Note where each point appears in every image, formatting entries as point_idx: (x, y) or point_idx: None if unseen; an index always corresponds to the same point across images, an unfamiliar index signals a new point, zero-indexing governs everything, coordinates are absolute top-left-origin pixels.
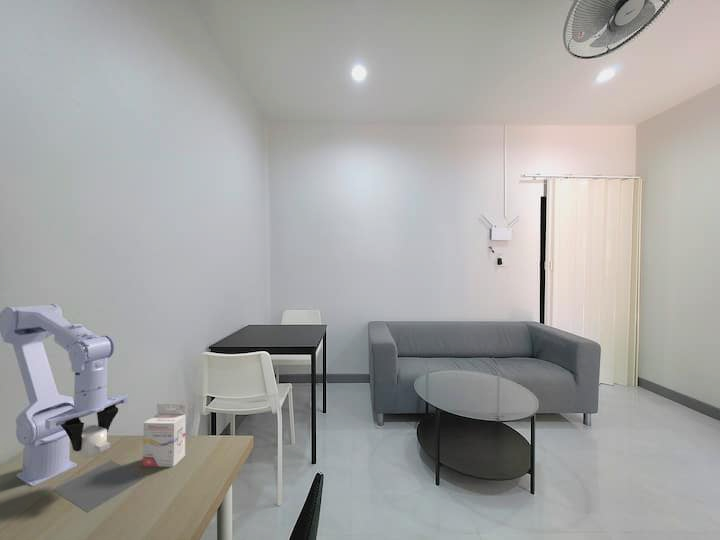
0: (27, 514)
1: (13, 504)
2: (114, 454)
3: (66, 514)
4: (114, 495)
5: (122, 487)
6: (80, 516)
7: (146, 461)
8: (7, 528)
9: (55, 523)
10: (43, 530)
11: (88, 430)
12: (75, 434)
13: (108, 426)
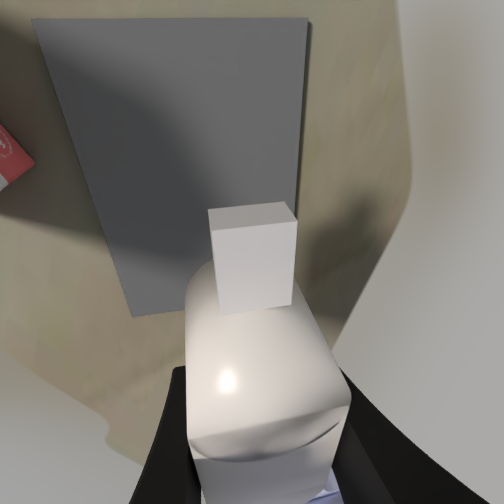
0: (359, 234)
1: (345, 306)
2: (112, 347)
3: (329, 116)
4: (199, 23)
5: (153, 60)
6: (320, 37)
7: (2, 151)
8: (402, 213)
9: (365, 96)
10: (394, 94)
11: (270, 476)
12: (422, 463)
13: (156, 465)
